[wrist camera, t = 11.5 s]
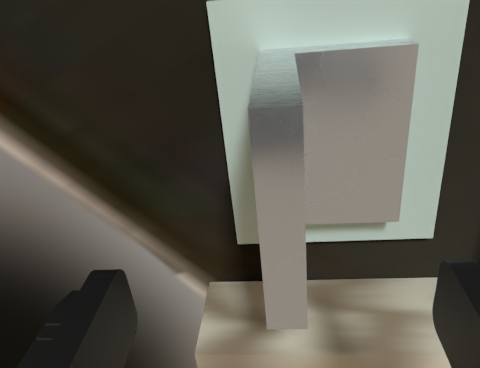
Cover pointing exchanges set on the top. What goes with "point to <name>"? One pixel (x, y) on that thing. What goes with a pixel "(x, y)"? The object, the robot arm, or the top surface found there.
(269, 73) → the angle bracket
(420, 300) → the corner walls
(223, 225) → the top surface
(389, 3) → the pad
